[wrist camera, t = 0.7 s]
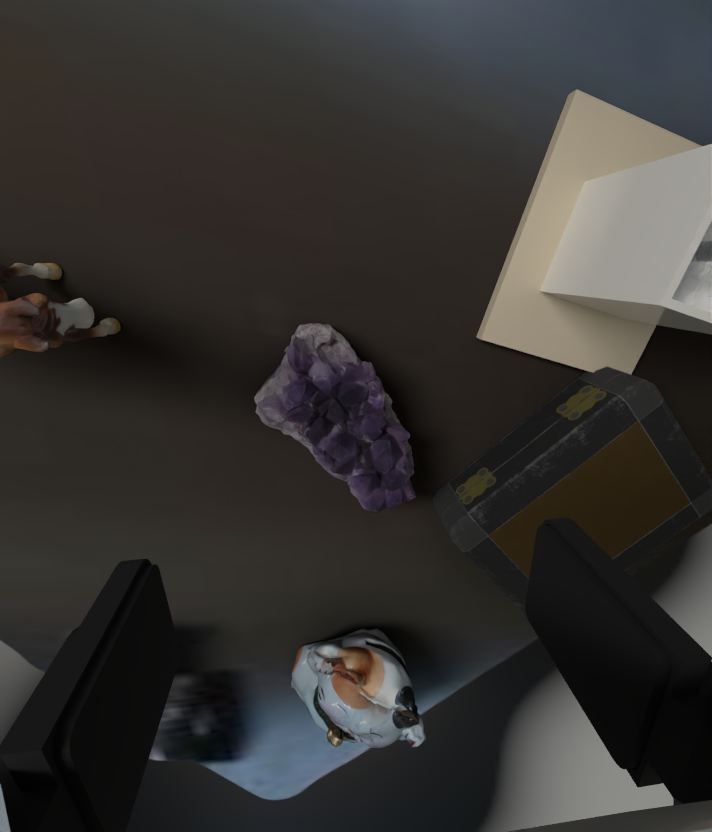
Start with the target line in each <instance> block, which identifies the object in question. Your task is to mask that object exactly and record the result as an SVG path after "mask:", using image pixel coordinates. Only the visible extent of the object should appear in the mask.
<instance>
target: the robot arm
mask: <svg viewBox="0 0 712 832" xmlns="http://www.w3.org/2000/svg"><path fill="white" fill-rule="evenodd" d="M525 611H526V615H527V618H528V620H529V622H530V624H531V626H532V627H533V629H534V630H535V632H536V634H537V635H538V637H539V639H540V640H541V642H542V643H543V645H544V647H545V648H546V650H547V652H548V653H549V655H550V657H551V658H552V660H553V661H554V663H555V665H556V666H557V668H558V670H559V671H560V673H561V674H562V676H563V678H564V679H565V681H566V683H567V684H568V686H569V688H570V689H571V691H572V693H573V694H574V696H575V697H576V699H577V701H578V702H579V704H580V706H581V707H582V709H583V711H584V712H585V714H586V715H587V717H588V719H589V720H590V722H591V723H592V725H593V727H594V729H595V730H596V732H597V733H598V735H599V737H600V738H601V740H602V742H603V743H604V745H605V746H606V748H607V750H608V751H609V753H610V755H611V756H612V758H613V759H614V761H615V762H616V764H617V765H619V767H620V768H622V769H627V771H628V772H629V774H630V776H631V777H632V779H633V781H634V782H635V784H636V785H637V787H643V786H648V785H654V784H661V783H664V785H665V786H666V788H667V789H668V790H669V792H670V793H671V795H672V796H673V798H674V805H673V806H666V807H659V808H652V809H645V810H638V811H631V812H624V813H618V814H612V815H606V816H600V817H594V818H588V819H582V820H576V821H570V822H564V823H558V824H552V825H546V826H540V827H534V828H528V829H521V830H515V831H510V832H712V662H711V660H712V657H711V656H710V655H709V654H708V653H707V652H706V651H705V650H704V649H703V648H702V647H701V646H700V645H699V644H698V643H697V642H696V641H694V639H693V638H692V637H691V636H690V635H689V634H687V632H685V631H684V630H683V629H682V628H681V627H680V626H679V625H678V624H677V623H676V622H675V621H674V620H673V619H672V618H671V617H670V616H669V615H668V614H667V613H666V612H665V611H664V610H663V609H662V608H661V607H660V606H659V605H658V604H657V603H656V602H655V601H654V600H653V599H652V598H651V597H650V596H649V595H648V594H647V593H646V592H645V591H644V590H643V589H642V588H641V587H640V586H639V585H638V584H637V583H636V582H635V581H634V580H633V579H632V578H631V577H630V576H629V575H628V574H627V573H626V572H625V571H624V570H623V569H622V568H621V567H620V566H619V565H618V564H617V563H616V562H615V561H614V560H613V559H612V558H611V557H610V556H609V555H608V554H607V553H605V552H604V551H603V550H602V549H601V548H600V547H599V546H598V545H597V544H596V543H595V542H594V541H593V540H592V539H591V538H590V537H589V536H588V535H587V534H586V533H585V532H584V531H583V530H582V529H581V528H580V527H579V526H578V525H577V524H576V523H575V522H574V521H573V520H572V519H570V518H567V517H566V518H556V519H547V520H544V522H543V524H542V526H539V527H538V528H537V531H536V538H535V544H534V551H533V558H532V564H531V571H530V577H529V584H528V590H527V597H526V603H525ZM179 653H180V652H179V644H178V640H177V637H176V633H175V629H174V625H173V621H172V617H171V613H170V609H169V606H168V602H167V598H166V594H165V590H164V586H163V582H162V578H161V574H160V571H159V568H158V566H157V565H155V564H154V565H151V563H150V561H149V560H148V559H140V560H130V561H122V562H120V563H119V564H118V565H117V566H116V568H115V570H114V571H113V573H112V574H111V576H110V578H109V579H108V581H107V583H106V584H105V586H104V587H103V589H102V591H101V592H100V594H99V596H98V597H97V599H96V601H95V602H94V604H93V605H92V607H91V609H90V610H89V612H88V614H87V615H86V617H85V618H84V620H83V622H82V623H81V625H80V627H78V628H76V629H75V630H73V631H72V633H71V634H70V635H69V636H68V638H67V639H66V641H65V642H64V644H63V646H62V647H61V649H60V650H59V652H58V654H57V655H56V657H55V658H54V660H53V662H52V663H51V665H50V666H49V668H48V670H47V671H46V673H45V675H44V676H43V678H42V679H41V681H40V682H39V684H38V686H37V687H36V689H35V690H34V692H33V694H32V695H31V697H30V698H29V700H28V702H27V703H26V705H25V707H24V708H23V710H22V711H21V713H20V714H19V716H18V718H17V719H16V721H15V722H14V724H13V726H12V727H11V729H10V730H9V732H8V733H7V735H6V737H5V738H4V740H3V741H2V743H1V745H0V832H125V831H126V828H127V825H128V822H129V819H130V816H131V812H132V809H133V806H134V803H135V800H136V796H137V793H138V790H139V787H140V784H141V781H142V777H143V774H144V771H145V768H146V765H147V761H148V758H149V755H150V752H151V749H152V746H153V742H154V739H155V736H156V733H157V730H158V726H159V723H160V720H161V717H162V714H163V711H164V707H165V704H166V701H167V698H168V695H169V691H170V688H171V685H172V682H173V679H174V676H175V672H176V669H177V666H178V662H179Z"/></svg>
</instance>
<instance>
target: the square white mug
mask: <svg viewBox="0 0 712 832" xmlns="http://www.w3.org/2000/svg"><path fill="white" fill-rule="evenodd" d="M711 221H712V144H710V145H706V146H700V145H698V144H696V143H694V142H692V141H689V140H687V139H685V138H683V137H681V136H678V135H676V134H674V133H672V132H670V131H667V130H665V129H663V128H661V127H659V126H656V125H654V124H652V123H650V122H648V121H645V120H643V119H641V118H639V117H637V116H635V115H632V114H630V113H628V112H626V111H624V110H621V109H619V108H617V107H615V106H613V105H610V104H608V103H606V102H604V101H602V100H599V99H597V98H595V97H593V96H591V95H588V94H586V93H584V92H582V91H580V90H577V89H576V90H575V91H573V92H572V93H570V94H569V95H568V97H567V100H566V103H565V105H564V108H563V110H562V113H561V116H560V118H559V121H558V124H557V126H556V129H555V132H554V134H553V137H552V139H551V142H550V145H549V147H548V150H547V153H546V155H545V158H544V160H543V163H542V166H541V168H540V171H539V174H538V176H537V179H536V182H535V184H534V187H533V189H532V192H531V195H530V197H529V200H528V203H527V205H526V208H525V210H524V213H523V216H522V218H521V221H520V224H519V226H518V229H517V232H516V234H515V237H514V239H513V242H512V245H511V247H510V250H509V253H508V255H507V258H506V261H505V263H504V266H503V268H502V271H501V274H500V276H499V279H498V282H497V284H496V287H495V289H494V292H493V295H492V297H491V300H490V303H489V305H488V308H487V311H486V313H485V316H484V318H483V321H482V324H481V326H480V329H479V332H478V334H477V337H476V338H479V339H481V340H484V341H488V342H491V343H495V344H498V345H501V346H505V347H508V348H512V349H515V350H518V351H522V352H525V353H528V354H532V355H535V356H539V357H542V358H545V359H549V360H552V361H555V362H559V363H562V364H566V365H569V366H572V367H576V368H579V369H582V370H586V371H589V372H593V373H594V372H595V371H596V370H599V369H602V368H604V367H610V368H613V369H616V370H619V371H622V372H625V373H628V374H632V372H633V370H634V368H635V366H636V364H637V362H638V360H639V359H640V357H641V355H642V353H643V351H644V349H645V347H646V345H647V343H648V341H649V339H650V337H651V335H652V333H653V331H654V329H655V327H656V325H660V326H666V327H672V328H678V329H683V330H689V331H695V332H701V333H707V334H712V313H711V312H708V311H705V310H702V309H700V308H697V307H694V306H691V305H688V304H685V303H683V302H680V301H677V300H674V299H672V297H673V295H674V293H675V291H676V289H677V287H678V285H679V283H680V281H681V279H682V277H683V276H684V274H685V272H686V270H687V268H688V266H689V264H690V262H691V260H692V258H693V256H694V254H695V252H696V250H697V248H698V246H699V244H700V242H701V240H702V238H703V236H704V235H705V233H706V231H707V229H708V227H709V225H710V223H711Z"/></svg>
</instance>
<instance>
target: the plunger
mask: <svg viewBox="0 0 712 832" xmlns="http://www.w3.org/2000/svg"><path fill="white" fill-rule="evenodd" d="M672 299H674V300H677V301H680V302H683V303H685V304H688V305H691V306H694V307H697V308H700V309H702V310H705V311H708V312H711V313H712V221H711V223H710V225H709V227H708V229H707V231H706V233H705V235H704V236H703V238H702V240H701V242H700V244H699V246H698V248H697V250H696V252H695V254H694V256H693V258H692V260H691V262H690V264H689V266H688V268H687V270H686V272H685V274H684V276H683V277H682V279H681V281H680V283H679V285H678V287H677V289H676V291H675V293H674V295H673V297H672Z"/></svg>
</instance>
